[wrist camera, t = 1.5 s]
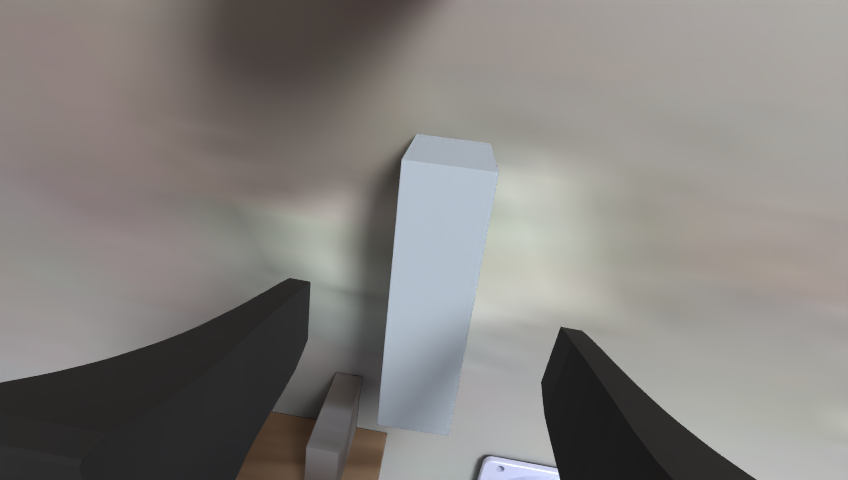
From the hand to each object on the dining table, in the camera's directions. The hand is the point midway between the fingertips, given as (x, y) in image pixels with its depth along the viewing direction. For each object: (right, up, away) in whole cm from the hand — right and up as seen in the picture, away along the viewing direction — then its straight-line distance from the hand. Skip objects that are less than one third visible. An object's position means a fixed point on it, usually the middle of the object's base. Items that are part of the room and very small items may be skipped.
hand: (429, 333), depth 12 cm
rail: (0, +2, +9) cm, 9 cm away
